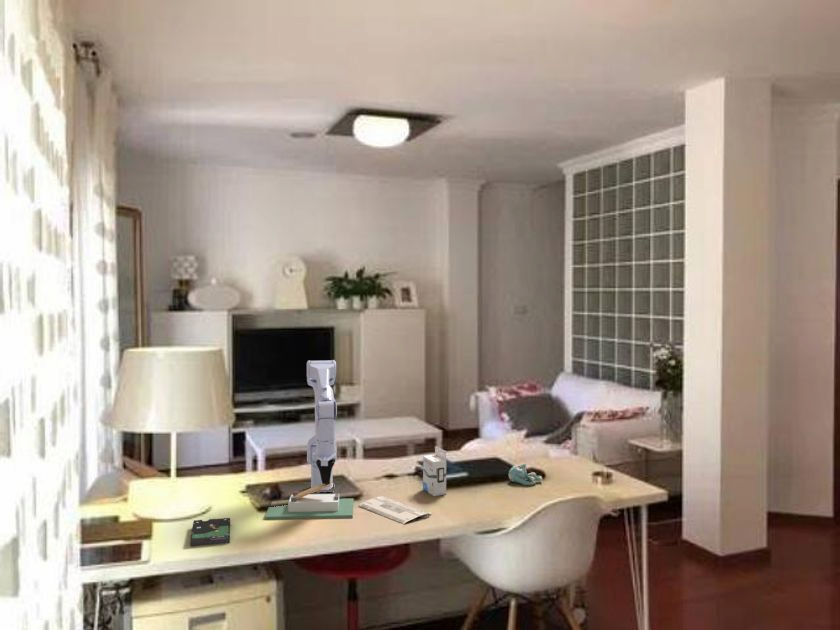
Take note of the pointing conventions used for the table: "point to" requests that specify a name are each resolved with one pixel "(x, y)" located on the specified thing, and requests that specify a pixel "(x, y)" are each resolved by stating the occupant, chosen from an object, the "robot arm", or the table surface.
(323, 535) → the table surface
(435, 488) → the ink box
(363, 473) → the table surface
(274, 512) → the board
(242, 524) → the table surface
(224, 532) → the disk drive
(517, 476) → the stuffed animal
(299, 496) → the strip
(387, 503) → the newspaper
